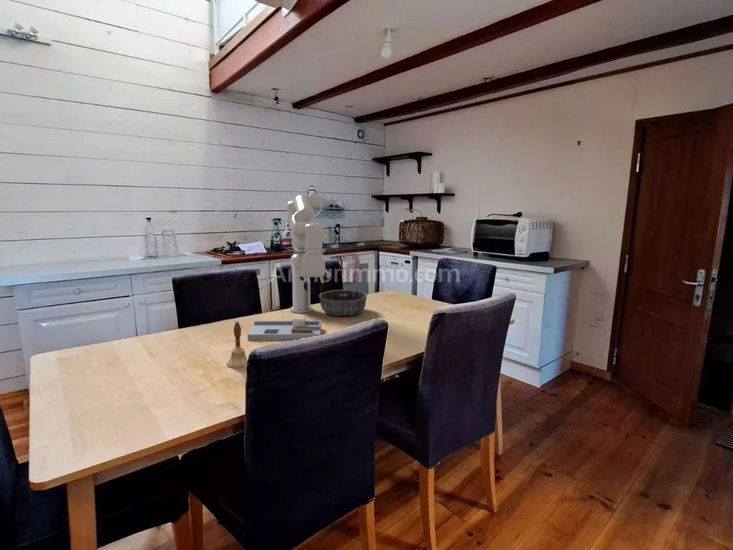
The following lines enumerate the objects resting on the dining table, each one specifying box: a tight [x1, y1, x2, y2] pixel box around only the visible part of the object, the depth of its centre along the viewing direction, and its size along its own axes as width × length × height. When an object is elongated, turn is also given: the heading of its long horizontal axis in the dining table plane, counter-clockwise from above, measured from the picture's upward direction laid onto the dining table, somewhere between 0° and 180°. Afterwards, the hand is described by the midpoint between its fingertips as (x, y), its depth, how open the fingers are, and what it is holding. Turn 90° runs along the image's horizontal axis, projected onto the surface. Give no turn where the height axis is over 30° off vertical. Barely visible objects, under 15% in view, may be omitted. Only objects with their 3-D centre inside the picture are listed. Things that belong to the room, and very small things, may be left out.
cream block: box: [291, 314, 307, 328], centre depth 180 cm, size 6×6×4 cm
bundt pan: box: [318, 289, 368, 317], centre depth 214 cm, size 26×26×10 cm
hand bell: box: [226, 321, 248, 369], centre depth 143 cm, size 8×8×16 cm
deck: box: [247, 320, 322, 341], centre depth 177 cm, size 15×31×4 cm, turn 95°
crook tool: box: [292, 328, 312, 333], centre depth 173 cm, size 3×9×1 cm, turn 95°
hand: (313, 290), depth 178 cm, fingers open, 6 cm apart
